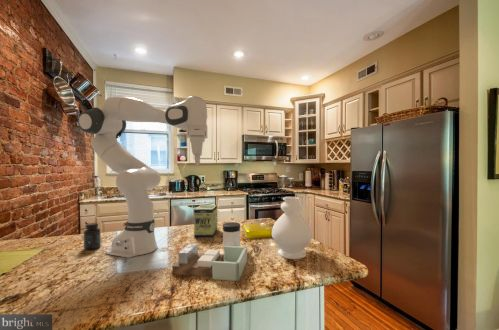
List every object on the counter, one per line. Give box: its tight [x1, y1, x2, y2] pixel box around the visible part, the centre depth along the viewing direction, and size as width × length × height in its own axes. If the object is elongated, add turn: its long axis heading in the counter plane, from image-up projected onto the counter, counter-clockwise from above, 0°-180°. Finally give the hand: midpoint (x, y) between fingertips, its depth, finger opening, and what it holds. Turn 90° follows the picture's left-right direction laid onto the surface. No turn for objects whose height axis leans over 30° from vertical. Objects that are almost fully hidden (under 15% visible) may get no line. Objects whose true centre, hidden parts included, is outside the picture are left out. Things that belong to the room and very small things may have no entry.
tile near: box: [198, 255, 215, 267], centre depth 85 cm, size 5×5×2 cm
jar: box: [222, 221, 241, 252], centre depth 107 cm, size 9×8×12 cm
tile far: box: [204, 248, 221, 260], centre depth 91 cm, size 5×5×2 cm
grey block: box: [178, 243, 199, 265], centre depth 90 cm, size 4×10×4 cm, turn 170°
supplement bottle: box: [83, 222, 102, 251], centre depth 112 cm, size 7×7×12 cm
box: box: [212, 246, 248, 282], centre depth 87 cm, size 10×16×6 cm, turn 170°
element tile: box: [242, 222, 273, 239], centre depth 131 cm, size 15×15×5 cm
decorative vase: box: [271, 196, 313, 260], centre depth 102 cm, size 18×18×25 cm
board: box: [171, 252, 224, 278], centre depth 89 cm, size 16×13×3 cm
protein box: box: [193, 204, 218, 238], centre depth 133 cm, size 10×16×16 cm
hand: (197, 165), depth 99 cm, fingers open, 8 cm apart
